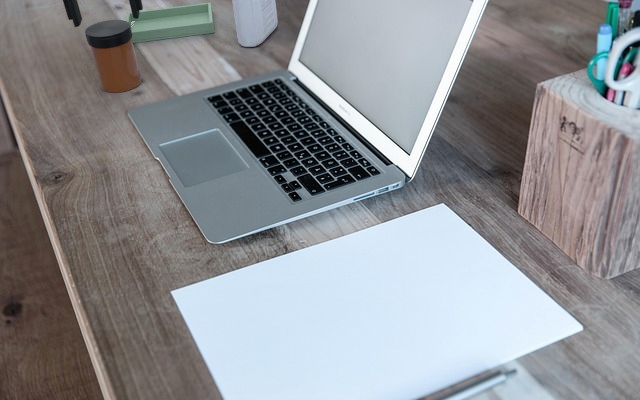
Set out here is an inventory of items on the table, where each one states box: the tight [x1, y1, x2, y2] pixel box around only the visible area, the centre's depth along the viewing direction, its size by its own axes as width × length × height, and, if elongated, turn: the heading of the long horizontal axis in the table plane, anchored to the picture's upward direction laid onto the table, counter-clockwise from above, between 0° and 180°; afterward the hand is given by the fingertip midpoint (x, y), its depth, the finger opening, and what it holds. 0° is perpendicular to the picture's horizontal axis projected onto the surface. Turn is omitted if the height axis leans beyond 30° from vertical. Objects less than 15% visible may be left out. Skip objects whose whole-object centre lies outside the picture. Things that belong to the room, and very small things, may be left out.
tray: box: [124, 2, 215, 44], centre depth 125 cm, size 15×10×2 cm
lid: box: [84, 19, 132, 48], centre depth 103 cm, size 6×6×2 cm
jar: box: [89, 38, 143, 94], centre depth 105 cm, size 6×6×8 cm
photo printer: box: [231, 0, 279, 48], centre depth 116 cm, size 10×4×12 cm, turn 162°
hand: (107, 18), depth 102 cm, fingers open, 7 cm apart
